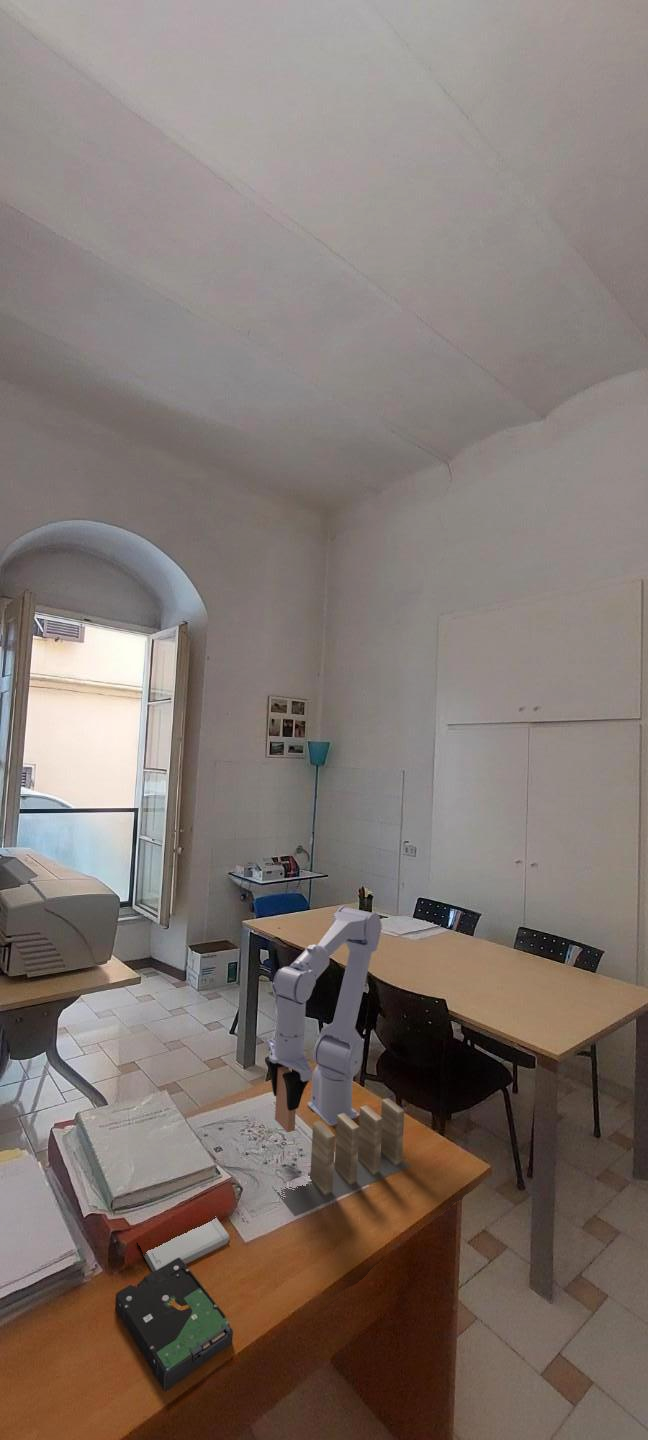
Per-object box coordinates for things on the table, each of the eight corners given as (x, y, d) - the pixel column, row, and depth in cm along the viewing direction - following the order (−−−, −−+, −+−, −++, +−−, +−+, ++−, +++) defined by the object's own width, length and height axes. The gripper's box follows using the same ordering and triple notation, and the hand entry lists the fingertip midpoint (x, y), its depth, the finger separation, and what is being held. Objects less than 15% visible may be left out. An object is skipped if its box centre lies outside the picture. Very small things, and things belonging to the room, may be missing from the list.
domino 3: (349, 1185, 114) (352, 1129, 114) (334, 1168, 118) (337, 1115, 118) (356, 1182, 115) (359, 1126, 115) (341, 1166, 119) (343, 1112, 119)
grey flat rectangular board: (272, 1189, 112) (272, 1186, 112) (383, 1145, 126) (383, 1143, 126) (294, 1218, 106) (294, 1215, 106) (409, 1168, 120) (409, 1166, 120)
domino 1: (287, 1132, 119) (290, 1079, 120) (274, 1119, 123) (277, 1067, 124) (294, 1130, 120) (297, 1077, 121) (281, 1116, 124) (284, 1065, 125)
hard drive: (156, 1271, 92) (230, 1235, 100) (136, 1235, 99) (207, 1203, 106) (155, 1283, 92) (229, 1245, 100) (135, 1246, 99) (206, 1213, 106)
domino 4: (373, 1175, 117) (375, 1120, 117) (357, 1159, 121) (360, 1107, 121) (379, 1172, 118) (382, 1118, 118) (364, 1157, 122) (366, 1105, 122)
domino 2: (324, 1195, 111) (327, 1138, 111) (310, 1178, 115) (313, 1123, 115) (332, 1192, 112) (335, 1135, 112) (317, 1175, 116) (320, 1120, 116)
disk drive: (112, 1314, 87) (164, 1397, 76) (113, 1293, 87) (166, 1373, 76) (178, 1274, 94) (234, 1345, 83) (179, 1255, 94) (235, 1323, 83)
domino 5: (395, 1165, 120) (398, 1112, 120) (379, 1151, 124) (381, 1099, 124) (401, 1163, 121) (404, 1110, 121) (385, 1148, 125) (388, 1097, 125)
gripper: (255, 1020, 126) (250, 1088, 126) (291, 1051, 114) (286, 1126, 114) (284, 1014, 130) (280, 1080, 130) (322, 1043, 118) (318, 1116, 118)
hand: (285, 1101), depth 122 cm, fingers closed on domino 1, 5 cm apart
